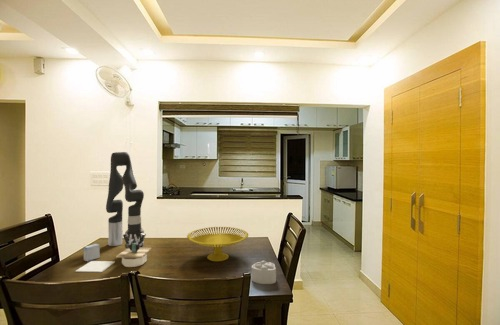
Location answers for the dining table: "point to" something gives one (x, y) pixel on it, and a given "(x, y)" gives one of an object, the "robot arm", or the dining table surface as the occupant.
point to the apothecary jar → (134, 240)
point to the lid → (133, 252)
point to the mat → (95, 266)
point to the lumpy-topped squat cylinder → (263, 273)
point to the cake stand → (217, 240)
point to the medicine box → (91, 252)
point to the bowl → (134, 261)
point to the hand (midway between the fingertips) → (134, 250)
